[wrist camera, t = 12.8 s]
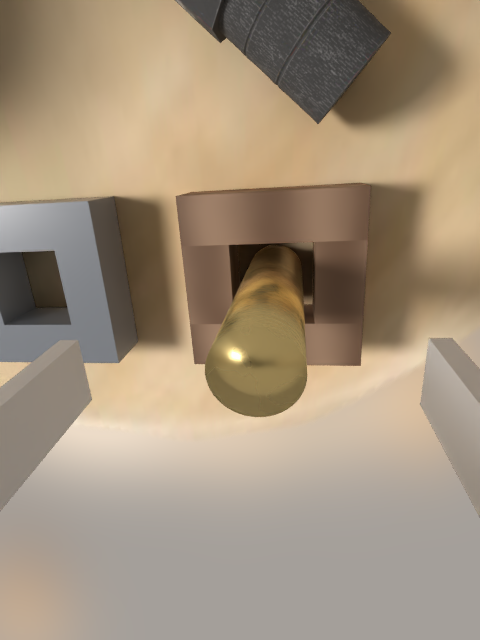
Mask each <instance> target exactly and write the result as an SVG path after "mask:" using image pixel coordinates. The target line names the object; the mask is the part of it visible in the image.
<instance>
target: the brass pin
mask: <svg viewBox="0 0 480 640" xmlns="http://www.w3.org/2000/svg"><path fill="white" fill-rule="evenodd" d="M205 375H206V380H207V383H208V386H209V388H210V390H211V391H212V393H213V395H214V396H215V397H216V398H217V399H218V400H219V401H220V402H221V403H222V404H223V405H224V406H226V407H227V408H229V409H231V410H232V411H234V412H237V413H239V414H242V415H246V416H251V417H266V416H272V415H276V414H278V413H281V412H283V411H285V410H287V409H288V408H290V407H291V406H292V405H293V404H294V403H295V402H296V401H297V400H298V399H299V398H300V396H301V395H302V393H303V391H304V388H305V386H306V381H307V362H306V341H305V320H304V300H303V279H302V265H301V262H300V260H299V258H298V256H297V255H296V254H295V253H294V252H293V251H292V250H291V249H289V248H287V247H285V246H281V245H270V246H267V247H264V248H262V249H261V250H259V251H258V252H257V253H256V254H255V256H254V257H253V259H252V261H251V263H250V265H249V267H248V269H247V272H246V274H245V276H244V278H243V280H242V282H241V284H240V287H239V289H238V291H237V293H236V295H235V297H234V299H233V301H232V304H231V306H230V308H229V310H228V312H227V314H226V316H225V319H224V321H223V323H222V325H221V327H220V329H219V331H218V334H217V336H216V338H215V340H214V342H213V344H212V346H211V348H210V351H209V353H208V355H207V358H206V363H205Z"/></svg>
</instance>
